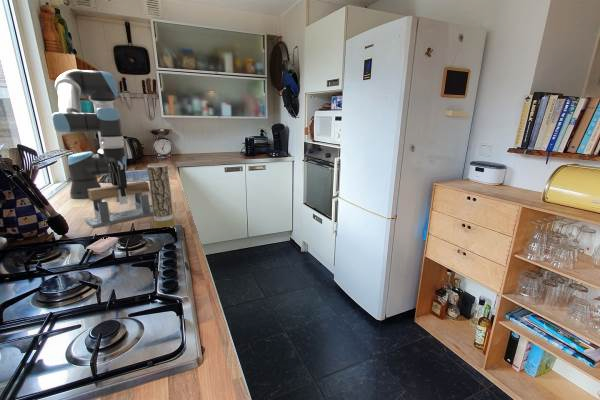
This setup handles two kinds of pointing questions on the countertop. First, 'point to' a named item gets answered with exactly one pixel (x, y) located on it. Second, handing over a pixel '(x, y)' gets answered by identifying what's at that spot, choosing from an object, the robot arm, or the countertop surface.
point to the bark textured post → (160, 195)
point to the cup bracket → (105, 218)
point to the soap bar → (102, 244)
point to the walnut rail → (113, 192)
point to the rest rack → (107, 203)
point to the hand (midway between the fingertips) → (121, 202)
